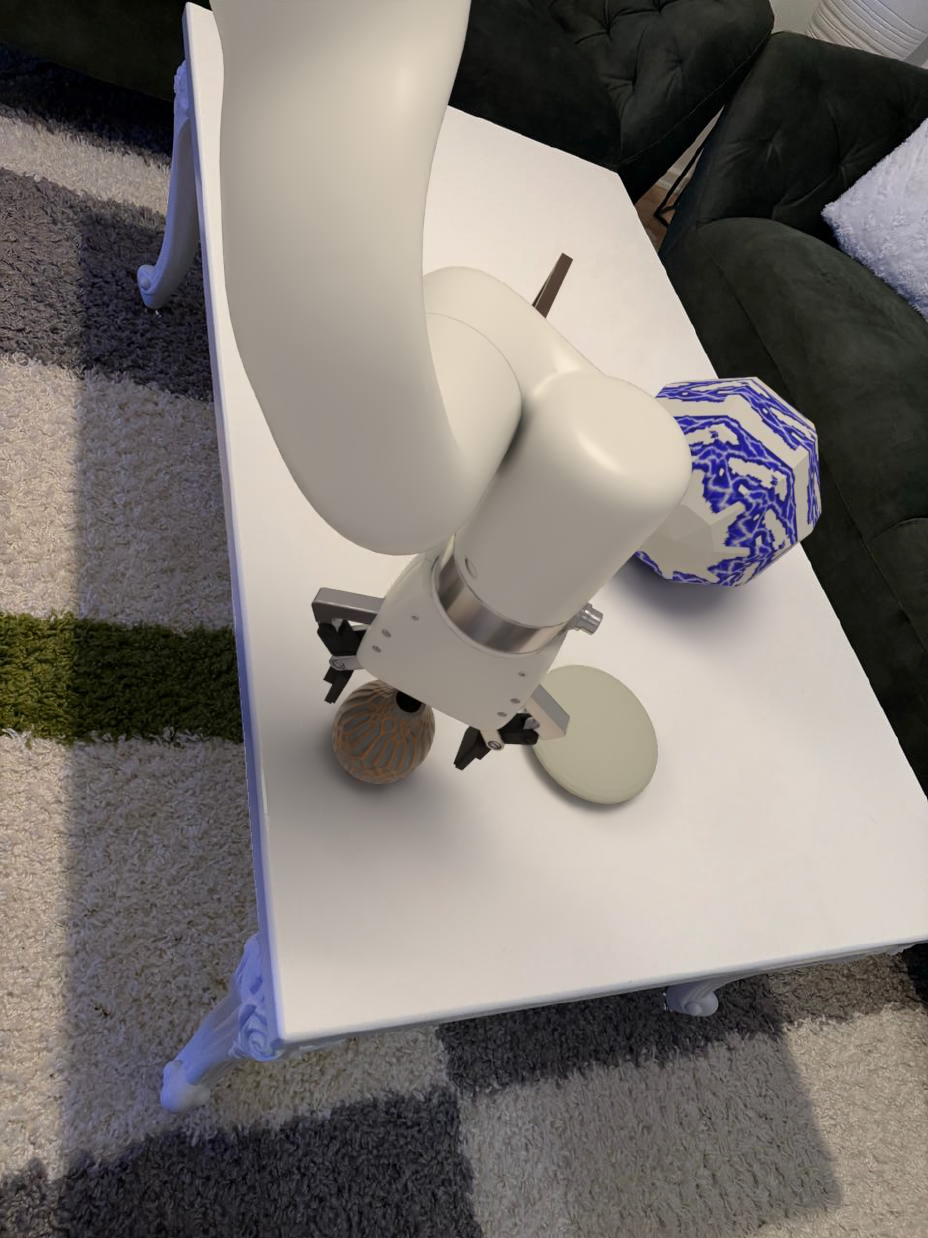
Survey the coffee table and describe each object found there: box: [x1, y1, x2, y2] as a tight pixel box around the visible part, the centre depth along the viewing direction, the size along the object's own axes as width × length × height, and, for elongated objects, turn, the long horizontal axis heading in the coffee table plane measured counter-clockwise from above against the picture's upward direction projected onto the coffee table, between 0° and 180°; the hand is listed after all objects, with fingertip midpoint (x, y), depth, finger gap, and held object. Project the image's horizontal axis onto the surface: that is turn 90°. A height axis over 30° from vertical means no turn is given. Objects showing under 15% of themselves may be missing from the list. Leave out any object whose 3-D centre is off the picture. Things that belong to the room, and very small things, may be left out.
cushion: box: [525, 664, 659, 805], centre depth 71 cm, size 12×12×3 cm
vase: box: [331, 678, 436, 785], centre depth 61 cm, size 7×7×9 cm
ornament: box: [633, 376, 822, 588], centre depth 82 cm, size 20×20×20 cm
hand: (400, 718), depth 59 cm, fingers open, 9 cm apart
